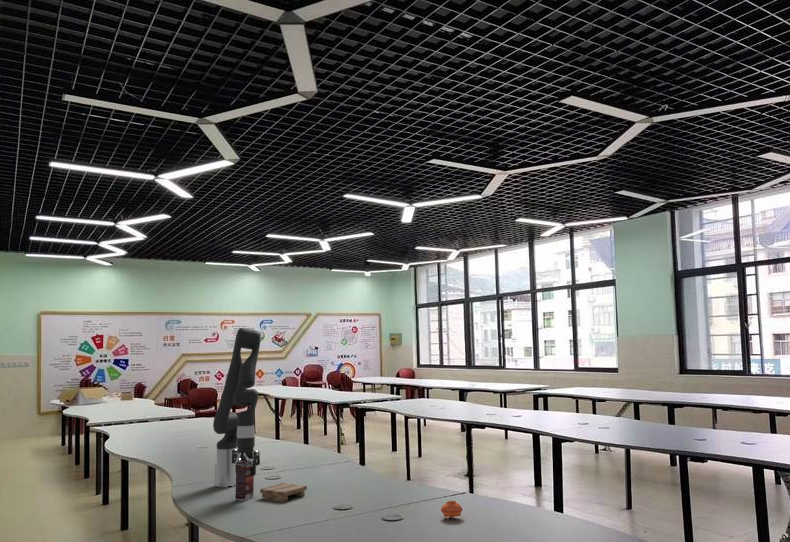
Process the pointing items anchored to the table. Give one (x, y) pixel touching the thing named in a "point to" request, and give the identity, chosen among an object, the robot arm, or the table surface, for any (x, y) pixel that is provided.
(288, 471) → the table surface
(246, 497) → the supplement box
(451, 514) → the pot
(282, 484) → the tan board
